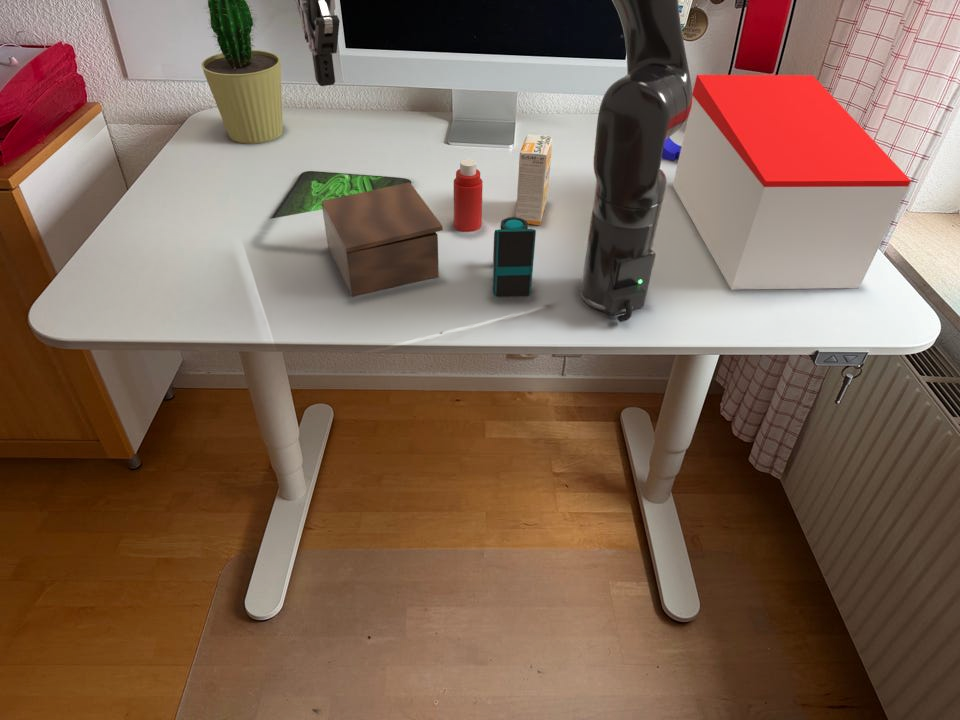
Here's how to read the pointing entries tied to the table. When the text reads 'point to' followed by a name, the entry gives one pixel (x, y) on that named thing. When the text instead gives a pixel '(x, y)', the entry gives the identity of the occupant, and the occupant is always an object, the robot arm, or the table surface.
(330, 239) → the chest
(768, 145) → the red-topped white box
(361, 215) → the chest lid
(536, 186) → the supplement box
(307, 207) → the mouse mat
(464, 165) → the ketchup bottle
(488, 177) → the table surface
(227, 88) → the potted cactus
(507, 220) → the black and teal battery
